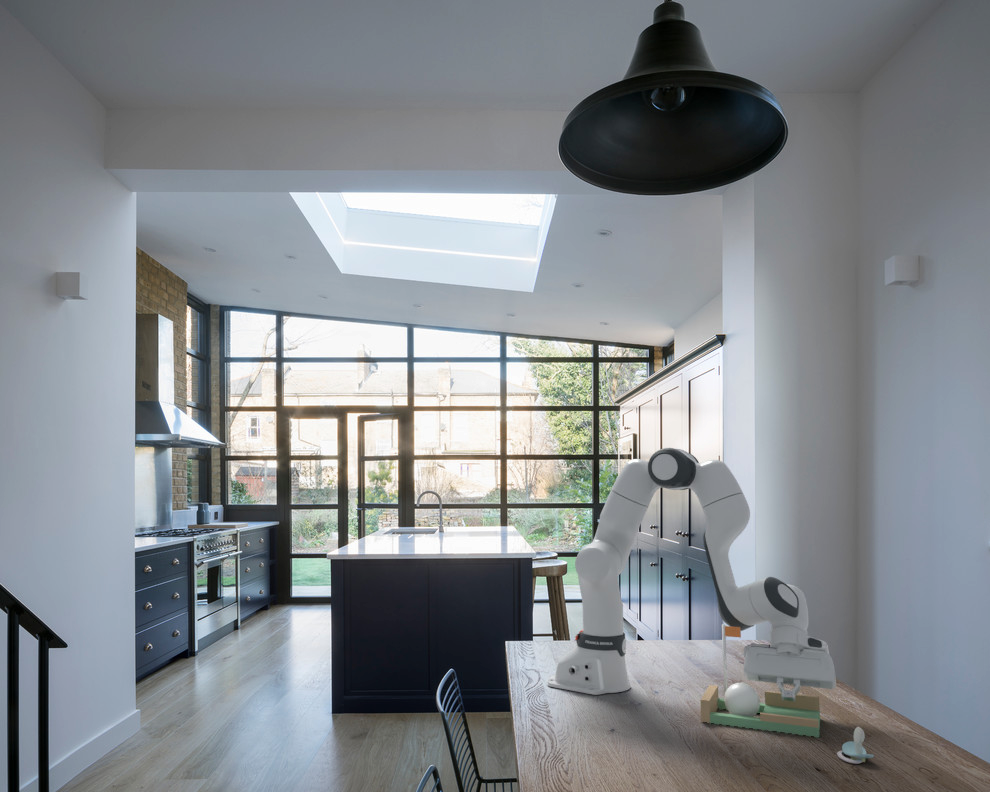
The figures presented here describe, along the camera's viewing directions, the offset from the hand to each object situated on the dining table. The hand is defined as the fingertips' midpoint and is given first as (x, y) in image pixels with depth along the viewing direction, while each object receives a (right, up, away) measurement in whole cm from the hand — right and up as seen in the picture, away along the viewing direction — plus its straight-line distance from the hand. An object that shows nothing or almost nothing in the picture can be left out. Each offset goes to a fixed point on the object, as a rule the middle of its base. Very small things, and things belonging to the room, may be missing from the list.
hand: (788, 699), depth 168 cm
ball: (-9, -2, +5) cm, 10 cm away
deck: (-5, -6, +2) cm, 8 cm away
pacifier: (+5, -3, -21) cm, 22 cm away
